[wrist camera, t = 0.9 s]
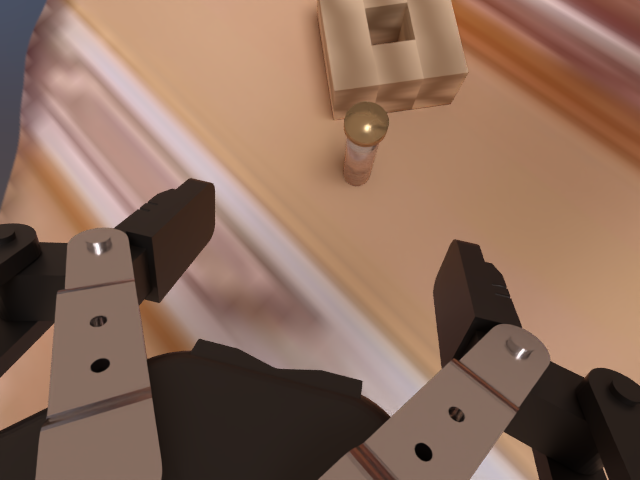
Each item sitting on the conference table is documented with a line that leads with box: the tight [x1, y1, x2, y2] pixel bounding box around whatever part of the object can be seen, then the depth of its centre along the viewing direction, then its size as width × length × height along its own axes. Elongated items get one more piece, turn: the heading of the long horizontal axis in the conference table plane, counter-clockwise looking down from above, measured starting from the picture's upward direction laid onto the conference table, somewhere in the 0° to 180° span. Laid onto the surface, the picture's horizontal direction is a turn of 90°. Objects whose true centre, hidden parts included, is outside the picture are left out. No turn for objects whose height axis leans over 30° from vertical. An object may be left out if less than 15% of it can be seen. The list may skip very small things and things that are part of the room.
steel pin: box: [343, 101, 389, 186], centre depth 32 cm, size 3×3×10 cm
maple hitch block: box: [317, 0, 469, 120], centre depth 37 cm, size 12×12×5 cm
